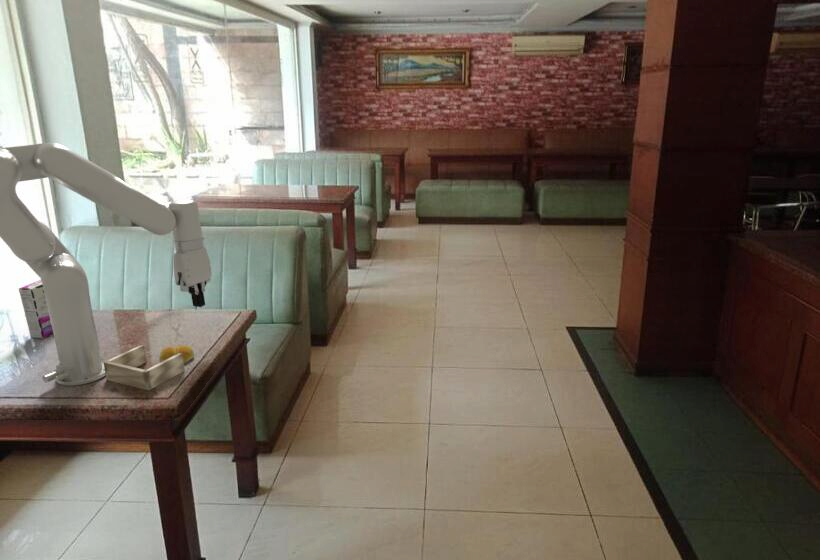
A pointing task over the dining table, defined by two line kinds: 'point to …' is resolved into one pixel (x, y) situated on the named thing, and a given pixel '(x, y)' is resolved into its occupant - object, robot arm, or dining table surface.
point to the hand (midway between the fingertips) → (199, 305)
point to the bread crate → (128, 374)
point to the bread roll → (171, 351)
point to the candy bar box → (36, 310)
